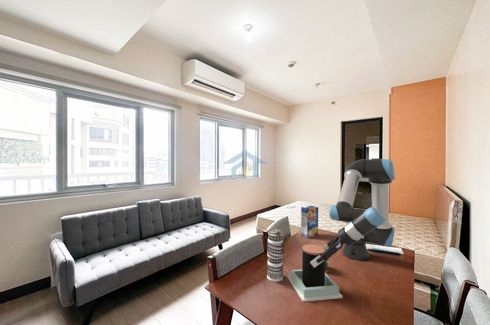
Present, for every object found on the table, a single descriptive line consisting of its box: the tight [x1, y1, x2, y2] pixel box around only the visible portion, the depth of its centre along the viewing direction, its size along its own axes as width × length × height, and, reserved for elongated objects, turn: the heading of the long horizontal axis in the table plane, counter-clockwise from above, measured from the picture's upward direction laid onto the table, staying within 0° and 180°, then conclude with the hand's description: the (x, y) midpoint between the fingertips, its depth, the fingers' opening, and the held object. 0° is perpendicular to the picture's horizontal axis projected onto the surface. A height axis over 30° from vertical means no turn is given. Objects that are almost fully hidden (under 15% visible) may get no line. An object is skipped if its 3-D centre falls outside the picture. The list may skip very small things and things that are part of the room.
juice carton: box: [300, 205, 319, 239], centre depth 172 cm, size 12×8×24 cm, turn 117°
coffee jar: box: [301, 243, 326, 288], centre depth 102 cm, size 11×11×18 cm
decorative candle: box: [266, 228, 285, 282], centre depth 110 cm, size 9×9×25 cm
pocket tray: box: [287, 268, 343, 303], centre depth 101 cm, size 19×19×4 cm
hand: (315, 258), depth 100 cm, fingers open, 13 cm apart
